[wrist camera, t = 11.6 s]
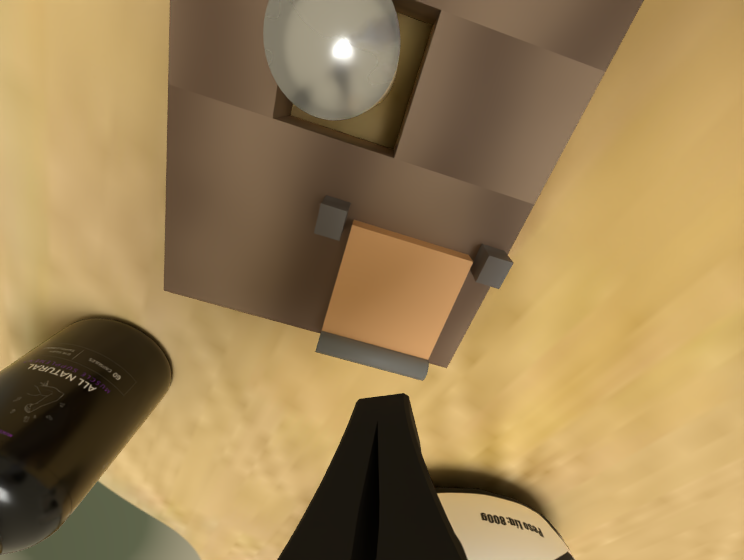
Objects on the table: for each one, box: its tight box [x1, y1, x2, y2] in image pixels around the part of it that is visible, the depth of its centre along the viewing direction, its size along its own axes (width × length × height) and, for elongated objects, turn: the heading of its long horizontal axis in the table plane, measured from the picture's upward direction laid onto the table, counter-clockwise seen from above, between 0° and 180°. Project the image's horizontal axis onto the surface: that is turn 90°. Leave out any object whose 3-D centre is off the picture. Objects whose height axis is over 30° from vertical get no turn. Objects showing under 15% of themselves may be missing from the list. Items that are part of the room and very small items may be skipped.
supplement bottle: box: [0, 318, 171, 555], centre depth 16 cm, size 7×7×12 cm
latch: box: [315, 220, 473, 381], centre depth 15 cm, size 5×6×1 cm
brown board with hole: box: [164, 0, 644, 368], centre depth 14 cm, size 14×16×4 cm
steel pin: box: [263, 0, 400, 120], centre depth 11 cm, size 3×3×7 cm
